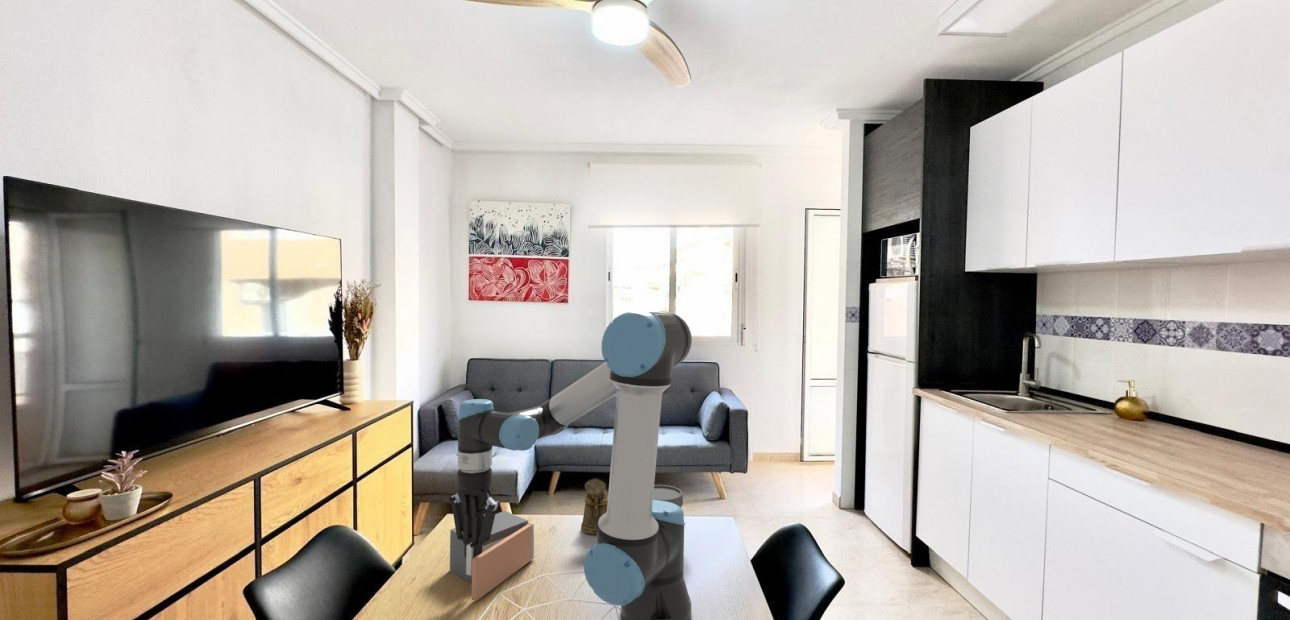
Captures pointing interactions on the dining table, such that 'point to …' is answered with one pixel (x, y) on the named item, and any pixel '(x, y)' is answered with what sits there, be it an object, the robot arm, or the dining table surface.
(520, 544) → the side door
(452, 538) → the case
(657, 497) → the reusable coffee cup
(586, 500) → the bronze figurine
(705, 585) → the dining table surface
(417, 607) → the dining table surface
